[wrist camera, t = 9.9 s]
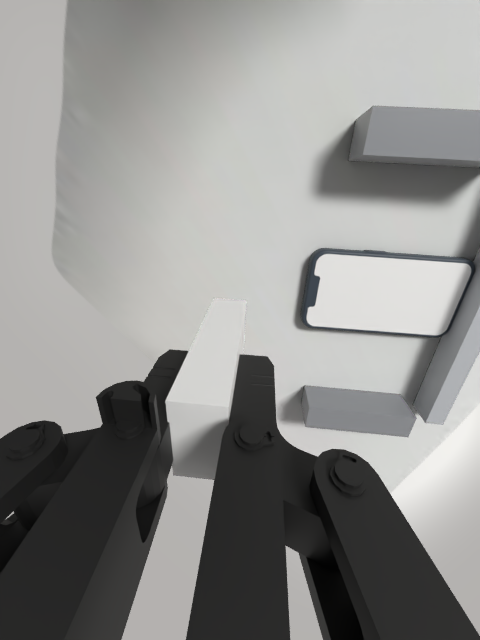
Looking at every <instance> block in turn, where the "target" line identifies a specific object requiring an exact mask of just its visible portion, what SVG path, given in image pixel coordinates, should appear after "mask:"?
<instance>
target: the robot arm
mask: <svg viewBox="0 0 480 640" xmlns="http://www.w3.org/2000/svg"><path fill="white" fill-rule="evenodd" d="M246 307H247V300H237V299H223V298H213V301H212V303H211V305H210V307H209V309H208V311H207V313H206V316H205V318H204V320H203V322H202V324H201V326H200V328H199V330H198V333H197V335H196V337H195V339H194V341H193V343H192V345H191V347H190V350H189V351H181V350H169V351H167V352H166V353H164V354H163V355H162V356H160V357H159V358H158V360H157V362H156V363H155V365H154V366H153V369H152V370H151V371H150V373H149V374H148V377H146V379H145V381H144V382H141V381H125V382H121V383H117V384H114V385H112V386H110V387H108V388H106V389H105V390H103V391H102V392H101V393H100V394H99V395H98V396H97V397H96V399H97V403H98V407H99V411H100V415H101V418H102V422H103V424H102V426H101V427H100V428H96V429H92V430H86V431H80V432H74V433H68V434H63V432H62V429H61V426H59V425H58V424H56V423H55V422H50V421H38V422H32V423H29V424H26V425H24V426H21V427H18V428H17V429H15V430H13V431H12V432H10V433H8V434H7V435H5V436H4V437H2V438H1V439H0V640H121V639H122V636H123V632H124V629H125V626H126V623H127V620H128V616H129V613H130V610H131V607H132V604H133V601H134V598H135V595H136V591H137V588H138V585H139V582H140V579H141V576H142V572H143V569H144V566H145V563H146V560H147V557H148V554H149V551H150V547H151V544H152V541H153V538H154V535H155V531H156V529H157V525H158V522H159V519H160V516H161V512H162V510H163V506H164V503H165V500H166V497H167V489H168V487H167V478H168V474H169V472H170V469H171V466H172V467H173V475H176V476H185V477H195V478H203V479H212V480H214V486H213V492H212V497H211V503H210V508H209V514H208V519H207V525H206V530H205V536H204V542H203V547H202V553H201V558H200V564H199V570H198V576H197V581H196V587H195V592H194V597H193V603H192V609H191V614H190V620H189V626H188V631H187V637H186V640H290V627H289V609H288V588H287V568H286V549H285V545H286V546H288V547H290V548H292V549H293V550H295V551H297V552H299V555H300V559H301V563H302V566H303V570H304V573H305V577H306V581H307V584H308V587H309V591H310V595H311V598H312V602H313V605H314V608H315V612H316V615H317V619H318V623H319V626H320V630H321V633H322V637H323V640H480V636H479V634H478V633H477V631H476V630H475V628H474V626H473V625H472V623H471V621H470V620H469V618H468V617H467V615H466V614H465V612H464V610H463V609H462V607H461V606H460V604H459V602H458V601H457V599H456V598H455V596H454V595H453V593H452V592H451V590H450V588H449V587H448V585H447V584H446V582H445V580H444V579H443V577H442V575H441V574H440V572H439V571H438V569H437V568H436V566H435V565H434V563H433V561H432V560H431V558H430V556H429V555H428V553H427V552H426V550H425V548H424V547H423V545H422V544H421V542H420V541H419V539H418V538H417V536H416V534H415V533H414V531H413V530H412V528H411V526H410V525H409V523H408V522H407V520H406V519H405V517H404V515H403V514H402V512H401V510H400V509H399V507H398V506H397V504H396V503H395V501H394V499H393V498H392V496H391V495H390V493H389V491H388V490H387V488H386V487H385V485H384V483H383V482H382V480H381V479H380V477H379V475H378V474H377V473H376V471H375V470H374V469H373V468H372V467H371V466H370V464H369V463H368V462H366V461H365V460H364V459H362V458H361V457H359V456H358V455H357V454H354V453H351V452H349V451H346V450H341V449H331V450H328V451H325V452H322V453H321V454H320V455H319V457H317V456H314V455H312V454H309V453H307V452H304V451H302V450H300V449H298V448H296V447H294V446H292V445H291V444H290V443H288V442H287V441H286V440H285V439H284V438H283V437H282V435H281V434H280V432H279V430H278V428H277V423H276V405H275V382H274V365H273V364H272V362H271V361H270V359H269V358H268V357H266V356H254V355H244V342H245V325H246ZM13 511H14V514H13V515H11V516H10V517H9V518H7V517H8V516H9V515H10V514H11V513H12V512H13ZM6 518H7V519H6Z"/></svg>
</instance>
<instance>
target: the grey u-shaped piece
mask: <svg viewBox="0 0 480 640" xmlns="http://www.w3.org/2000/svg"><path fill="white" fill-rule="evenodd" d="M348 161H363V162H382V163H401V164H420V165H439V166H458V167H477V168H480V110H462V109H438V108H415V107H391V106H372V107H371V108H370V109H369V110H367V111H366V112H365V113H364V114H362V115H361V116H360V117H359V118H357V119H356V122H355V127H354V133H353V138H352V143H351V148H350V153H349V158H348ZM473 263H474V265H475V273H474V275H473V278H472V280H471V282H470V284H469V287H468V289H467V291H466V294H465V296H464V298H463V300H462V303H461V305H460V307H459V310H458V312H457V314H456V317H455V319H454V321H453V323H452V326H451V328H450V330H449V331H448V332H447V333H446V334H445V335H443V336H442V337H441V339H440V342H439V344H438V347H437V349H436V351H435V354H434V356H433V358H432V361H431V363H430V365H429V368H428V370H427V373H426V375H425V377H424V380H423V382H422V384H421V387H420V389H419V392H418V394H417V396H416V399H415V401H414V403H413V406H414V407H415V409H416V410H417V412H418V413H419V415H420V416H421V417H422V419H423V420H424V422H425V423H431V424H441V425H443V424H444V422H445V420H446V418H447V416H448V414H449V412H450V410H451V408H452V406H453V404H454V402H455V400H456V398H457V396H458V394H459V392H460V390H461V388H462V386H463V384H464V382H465V380H466V378H467V376H468V374H469V372H470V370H471V368H472V366H473V364H474V362H475V360H476V358H477V356H478V354H479V352H480V247H479V249H478V252H477V254H476V256H475V259H474V261H473ZM301 406H302V411H303V417H304V423H305V427H311V428H321V429H331V430H341V431H351V432H361V433H371V434H381V435H391V436H401V437H408V436H409V434H410V432H411V430H412V427H413V425H414V423H415V421H416V417H415V415H414V414H413V412H412V411H411V409H410V408H409V406H408V405H407V403H406V402H405V400H404V399H403V397H402V396H401V395H400V394H391V393H380V392H369V391H359V390H348V389H337V388H326V387H316V386H304V391H303V396H302V401H301Z"/></svg>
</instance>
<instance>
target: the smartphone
mask: <svg viewBox="0 0 480 640" xmlns="http://www.w3.org/2000/svg"><path fill="white" fill-rule="evenodd" d="M474 273H475V265H474V263H473V262H472V261H470V260H468V259H465V258H460V257H446V256H432V255H418V254H404V253H389V252H385V251H372V250H364V251H360V250H345V249H330V248H321V249H318V250H316V251H315V252H314V253H313V254H312V255H311V257H310V261H309V267H308V273H307V279H306V285H305V291H304V297H303V303H302V309H301V319H302V322H303V323H304V325H306V326H307V327H309V328H318V329H331V330H344V331H357V332H370V333H383V334H396V335H409V336H422V337H440V336H443V335H445V334H446V333H447V332H448V331H449V330H450V328H451V326H452V323H453V321H454V319H455V317H456V314H457V312H458V310H459V307H460V305H461V303H462V300H463V298H464V296H465V294H466V291H467V289H468V287H469V284H470V282H471V280H472V278H473V275H474Z"/></svg>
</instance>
